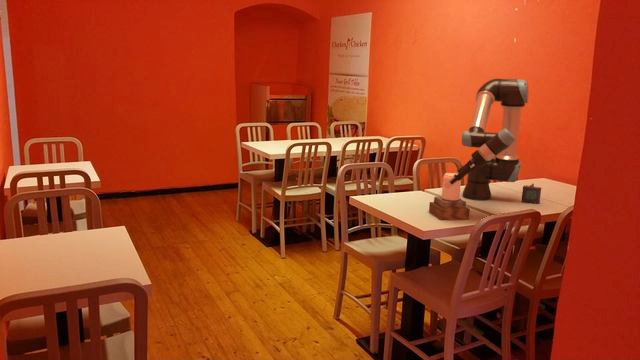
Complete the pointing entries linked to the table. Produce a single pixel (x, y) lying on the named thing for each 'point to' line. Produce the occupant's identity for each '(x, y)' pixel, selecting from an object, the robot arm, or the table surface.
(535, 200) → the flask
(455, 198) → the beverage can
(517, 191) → the table surface
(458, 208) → the stepped brown pedestal
